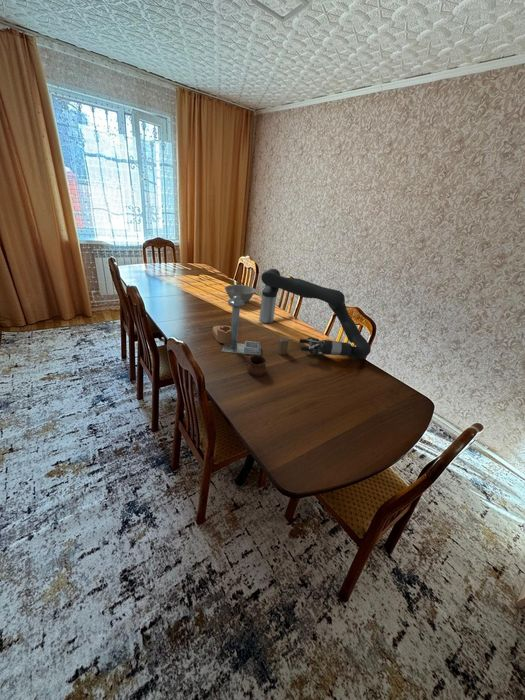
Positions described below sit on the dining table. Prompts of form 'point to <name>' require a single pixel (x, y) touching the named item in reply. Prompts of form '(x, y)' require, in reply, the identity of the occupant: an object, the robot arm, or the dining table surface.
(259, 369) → the ceramic pot
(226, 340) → the bracket
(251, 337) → the dining table surface
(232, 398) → the dining table surface
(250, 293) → the ceramic bowl
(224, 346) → the metal post stand
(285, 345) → the wooden block
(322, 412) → the dining table surface
